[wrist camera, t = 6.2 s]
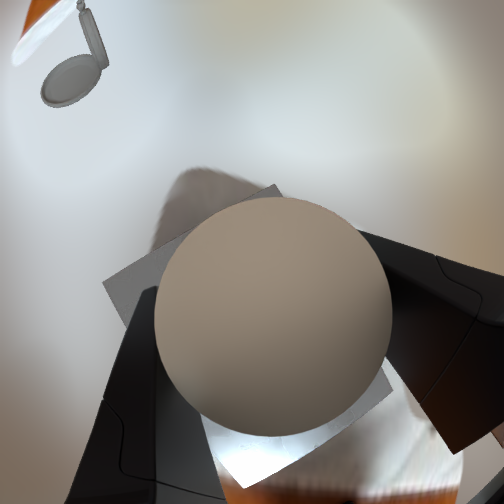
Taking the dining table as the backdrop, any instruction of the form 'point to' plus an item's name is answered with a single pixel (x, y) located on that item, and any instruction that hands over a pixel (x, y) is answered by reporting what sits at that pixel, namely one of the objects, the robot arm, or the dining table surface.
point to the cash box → (219, 438)
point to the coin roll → (273, 317)
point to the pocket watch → (77, 67)
